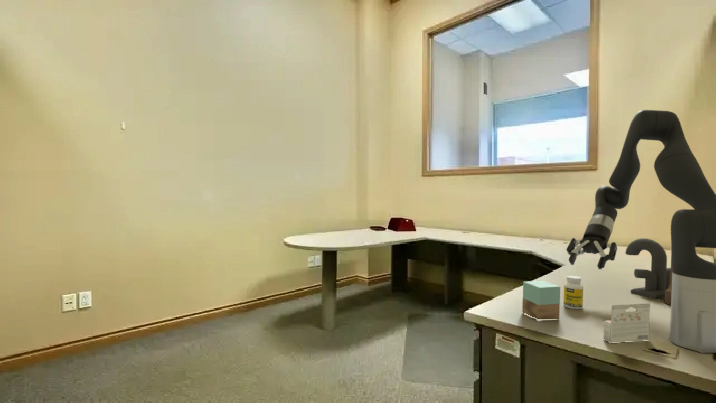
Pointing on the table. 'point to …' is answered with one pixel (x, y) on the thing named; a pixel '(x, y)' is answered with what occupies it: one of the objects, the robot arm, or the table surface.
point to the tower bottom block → (541, 310)
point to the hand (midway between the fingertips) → (585, 265)
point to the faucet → (659, 273)
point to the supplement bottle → (573, 293)
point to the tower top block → (541, 292)
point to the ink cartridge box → (628, 323)
